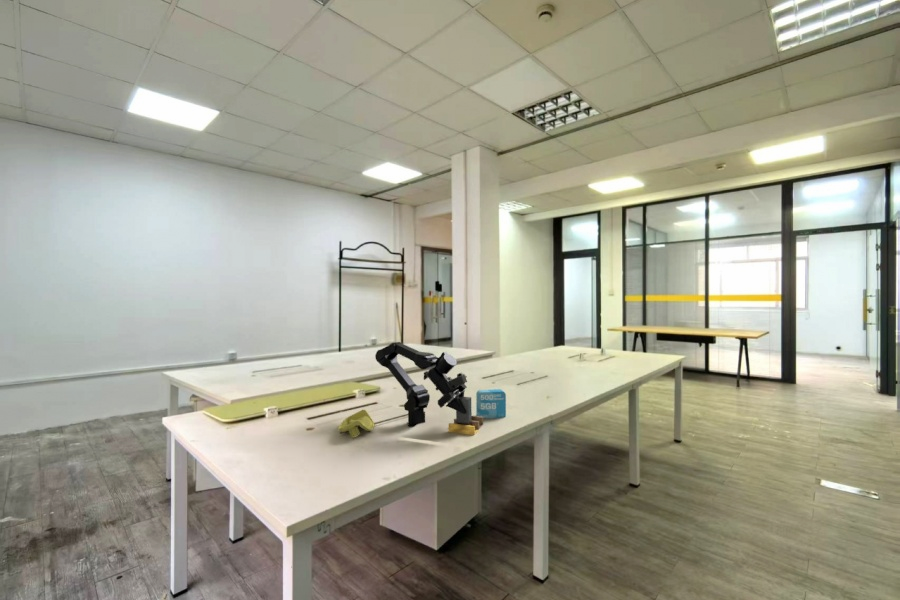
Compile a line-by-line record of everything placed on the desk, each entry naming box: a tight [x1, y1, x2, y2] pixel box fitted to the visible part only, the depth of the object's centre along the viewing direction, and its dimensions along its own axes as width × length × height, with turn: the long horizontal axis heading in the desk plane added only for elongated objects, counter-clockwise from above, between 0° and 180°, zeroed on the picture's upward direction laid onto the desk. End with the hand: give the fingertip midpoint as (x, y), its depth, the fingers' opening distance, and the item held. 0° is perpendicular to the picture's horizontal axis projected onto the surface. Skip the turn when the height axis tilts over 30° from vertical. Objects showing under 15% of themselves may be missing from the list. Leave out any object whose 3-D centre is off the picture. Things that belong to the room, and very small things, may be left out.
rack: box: [448, 415, 484, 436], centre depth 147 cm, size 10×13×4 cm
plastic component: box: [337, 409, 375, 439], centre depth 146 cm, size 20×7×10 cm
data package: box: [475, 388, 507, 419], centre depth 163 cm, size 12×4×12 cm, turn 98°
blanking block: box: [455, 396, 473, 426], centre depth 144 cm, size 5×4×12 cm
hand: (467, 411), depth 144 cm, fingers open, 4 cm apart
